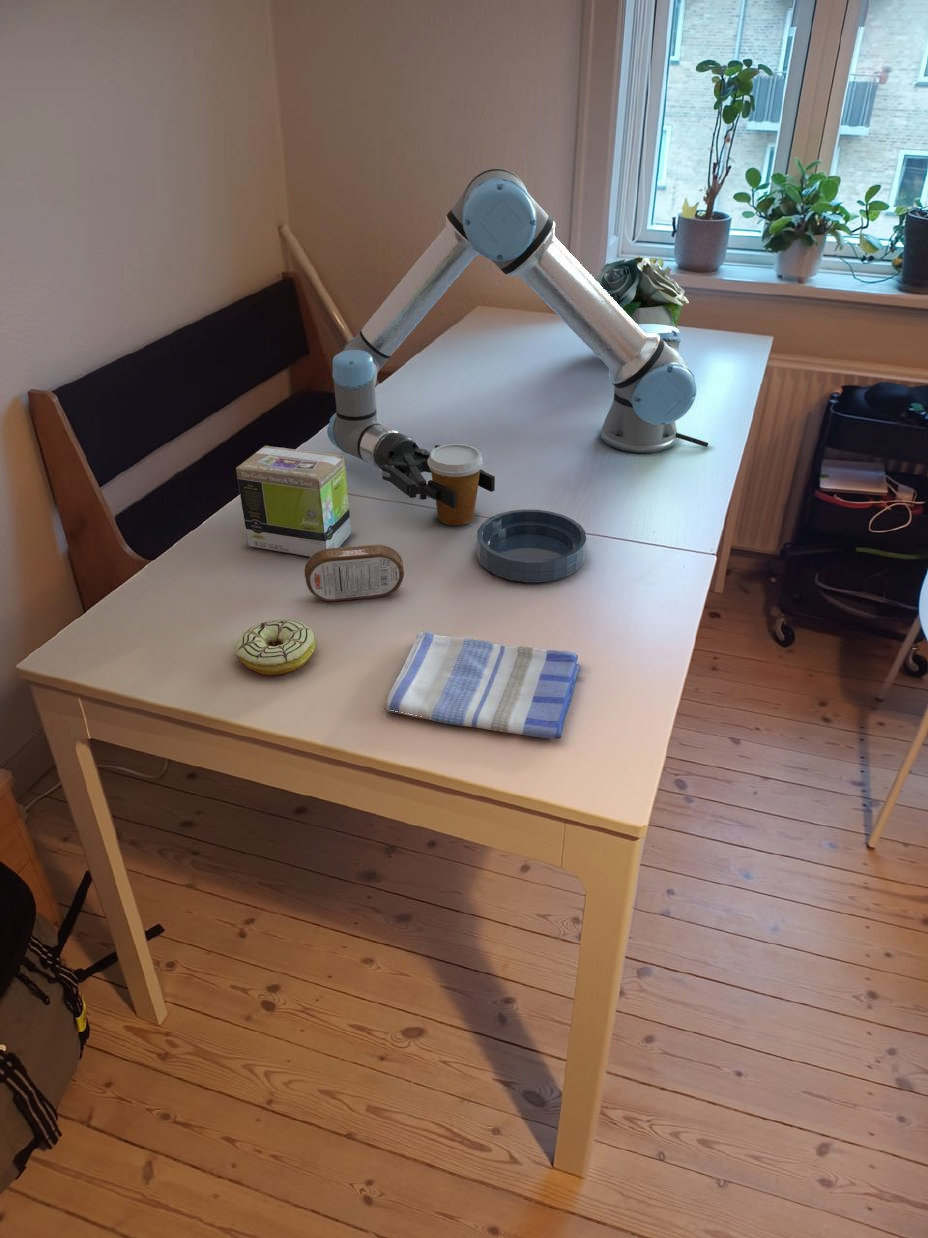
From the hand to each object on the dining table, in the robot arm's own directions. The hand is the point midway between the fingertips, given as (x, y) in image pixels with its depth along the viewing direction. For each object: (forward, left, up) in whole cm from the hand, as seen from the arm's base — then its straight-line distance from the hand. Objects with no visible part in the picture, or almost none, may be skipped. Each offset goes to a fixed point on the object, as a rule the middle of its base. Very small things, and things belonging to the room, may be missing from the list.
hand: (474, 492), depth 159 cm
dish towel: (-3, +45, -7) cm, 46 cm away
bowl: (-10, +10, -7) cm, 15 cm away
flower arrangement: (-36, -89, -7) cm, 96 cm away
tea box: (+29, +6, -7) cm, 31 cm away
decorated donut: (+26, +39, -7) cm, 47 cm away
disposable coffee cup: (+3, -3, -7) cm, 8 cm away
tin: (+17, +23, -7) cm, 29 cm away
